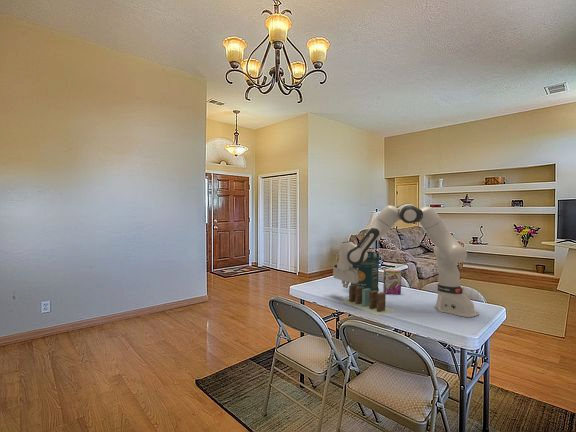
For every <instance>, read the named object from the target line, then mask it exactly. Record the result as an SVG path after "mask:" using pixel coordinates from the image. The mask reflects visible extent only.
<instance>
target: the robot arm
mask: <svg viewBox="0 0 576 432" xmlns="http://www.w3.org/2000/svg"><path fill="white" fill-rule="evenodd" d="M398 221H402V222H403V223H406V224H415V223H419V224H420V226H421V227H422V228H423V231H424V232H425V233H426V235H427V237H428V238H429V240H430V241H431V242H432V243H433V244H434V247H433V254H434V255H435V259H436V264H437V269H438V283H437V299H436V303H435V305H434V308H435V309H437V311H438V312H441V313H446V314H450V315H453V316H454V315H455V316H457V317H458V316H459V317H463V318H474V316H475V317H477V316H479V315H480V312H479V311H478V310H475V304H474V302H473V301H472V300H471V299H470V298H469V297H468V296H467V295H465V294H464V293H463V291H464V289H465V288H464V287H463V288H462V287H461V286H460V285H461V282H460V279H461V276H460V275H461V274H460V273H461V272H460V270H459V269H458V265H457V264H460V263H463V262H465V260H467V258H468V252H467V250H466V249H465V248H464V247H463V246H462V244H460V242H459V241H458V240H457V239H456V238H455V236H453V234H452V233H451V232H450V231H449V230H448V229H447V226H446V225H445V224H444V221H443V220H442V218H441V217H440V215H439V213H437V211H436V210H435V209H434V208H433V207H431V206H429V205H428V206H423V207H421V208H419V207H417V206H416V205H414V204H412V203H409V202H406V203H403V204H400V205H398V206H394V205H386V206H385V207H383V209H381V211H380V212H379V213H378V214H377V216H376V217H375V218H374V220H373V221H372V222H371V225H370V227H369V228H368V230H367V232H366V233H365V235H364V236H363V238H362V239H361V240H360V242H359V243H358V244H355V243H354V242H352V241H343V242H340V244H339V247H338V257H339V259H338V263H334V264H332V266H333V269H332V276H333V278H334V279H337V280H340V281H341V284H342V288H345V289H349V284H351V283H358V282H359V278H358V271H357V270H356V269H355V268H353V265H360V264H361V263H362V262H363V261H365V260H366V259H367V257H368V252H369V249H370V248H371V246H372V245H373V244H374V243H375V242H376V241H377V240H379V239H380V238H382V237H384V236H385V235H386V234H387V233H388V232H389V231H390V230H391V229H392V228H393V226H394V225H395V224H396V223H398ZM367 251H368V252H367Z"/></svg>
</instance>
